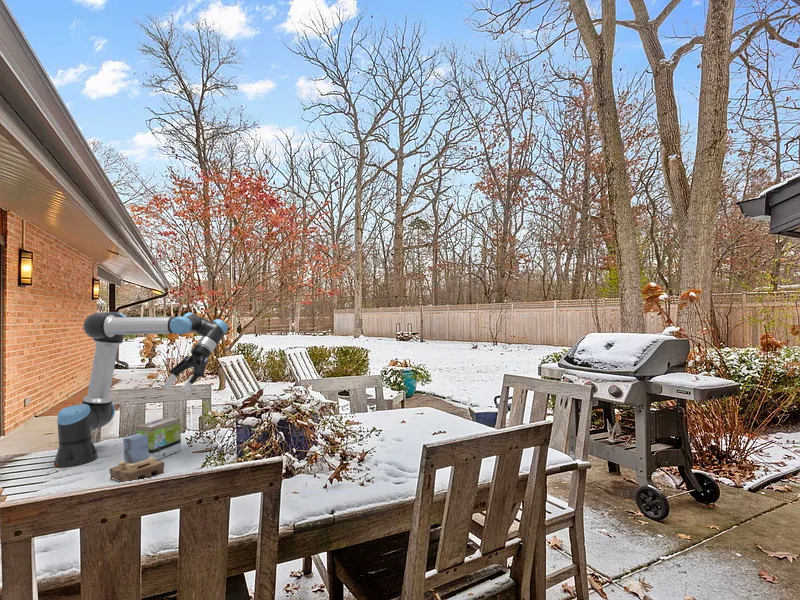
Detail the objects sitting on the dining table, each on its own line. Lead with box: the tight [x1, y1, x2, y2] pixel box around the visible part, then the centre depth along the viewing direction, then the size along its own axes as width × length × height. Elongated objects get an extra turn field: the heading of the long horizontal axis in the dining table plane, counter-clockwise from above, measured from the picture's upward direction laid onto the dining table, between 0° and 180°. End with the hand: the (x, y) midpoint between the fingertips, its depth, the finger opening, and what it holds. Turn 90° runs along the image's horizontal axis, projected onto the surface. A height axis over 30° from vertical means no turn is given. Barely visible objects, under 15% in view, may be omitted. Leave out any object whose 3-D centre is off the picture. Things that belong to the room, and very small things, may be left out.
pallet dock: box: [109, 460, 165, 483], centre depth 178 cm, size 14×13×4 cm
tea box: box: [135, 417, 182, 461], centre depth 202 cm, size 15×10×15 cm
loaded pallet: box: [117, 434, 155, 471], centre depth 178 cm, size 9×9×11 cm
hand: (174, 388), depth 196 cm, fingers open, 13 cm apart
